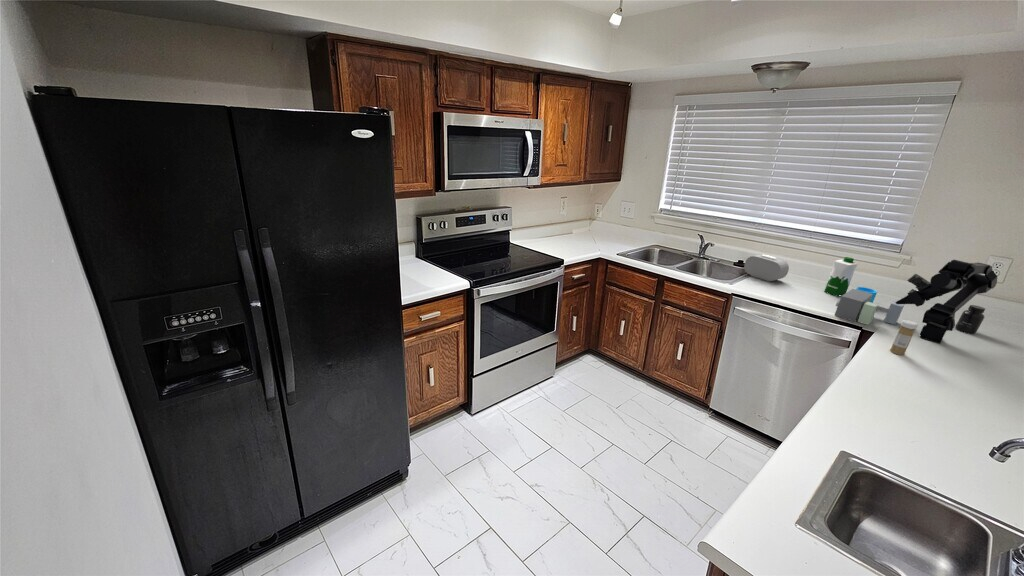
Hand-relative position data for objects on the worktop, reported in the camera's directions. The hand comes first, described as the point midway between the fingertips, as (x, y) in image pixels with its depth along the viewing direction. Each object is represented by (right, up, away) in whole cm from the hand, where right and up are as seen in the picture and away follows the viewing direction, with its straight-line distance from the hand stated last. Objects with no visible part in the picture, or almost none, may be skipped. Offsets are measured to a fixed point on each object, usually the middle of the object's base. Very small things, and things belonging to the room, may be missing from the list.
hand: (896, 303), depth 180 cm
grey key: (+5, -7, +16) cm, 18 cm away
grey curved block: (-5, -6, +19) cm, 20 cm away
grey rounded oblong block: (-19, +12, +65) cm, 69 cm away
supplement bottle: (+38, -13, +7) cm, 40 cm away
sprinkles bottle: (-15, -19, -16) cm, 29 cm away
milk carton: (+8, +3, +45) cm, 46 cm away
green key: (-9, -8, +14) cm, 18 cm away
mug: (+12, -2, +33) cm, 35 cm away
